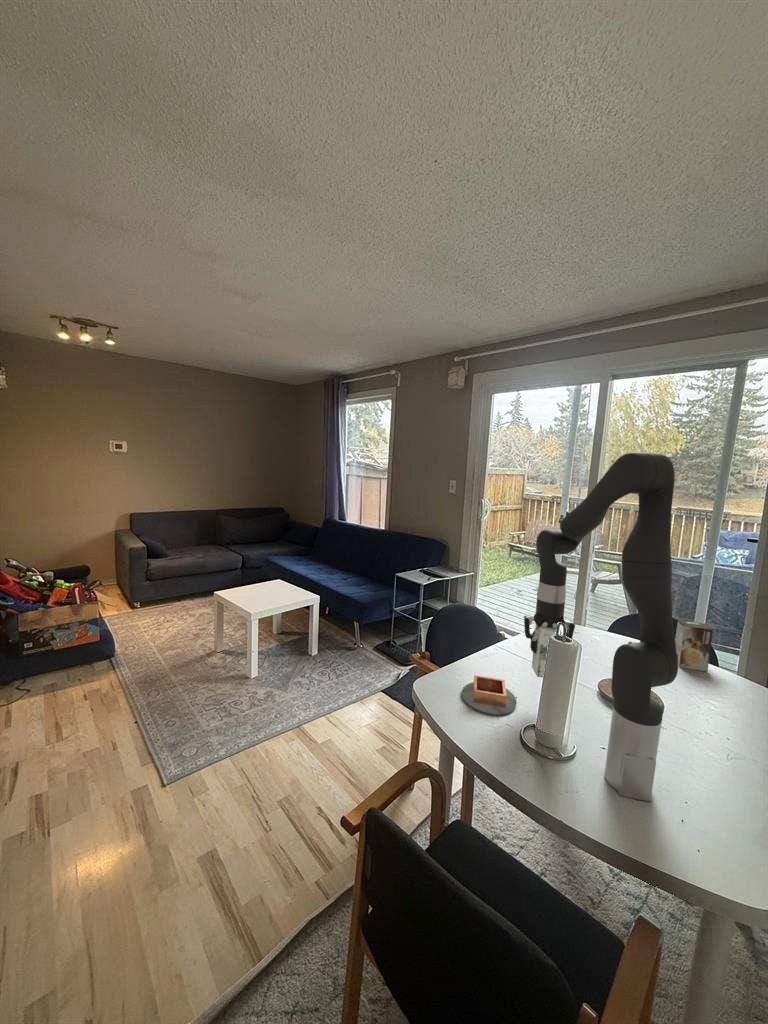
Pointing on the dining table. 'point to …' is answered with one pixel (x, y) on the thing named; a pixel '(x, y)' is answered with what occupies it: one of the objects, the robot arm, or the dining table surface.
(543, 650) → the syrup box
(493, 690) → the rosette socket
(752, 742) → the dining table surface
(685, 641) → the coffee box
